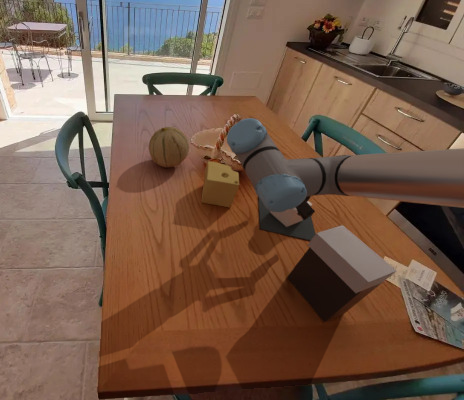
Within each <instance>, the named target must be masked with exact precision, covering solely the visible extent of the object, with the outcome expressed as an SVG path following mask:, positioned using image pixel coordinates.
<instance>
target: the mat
mask: <svg viewBox="0 0 464 400" xmlns="http://www.w3.org/2000/svg"><path fill="white" fill-rule="evenodd" d="M257 198H258V199H257V202H258V219H259V230H261V231H264V232H269V233H273V234H278V235H283V236H286V237H291V238H295V239H299V240H304V241H309V242H310V241H311V240H312V238H313V237H314V235H315V234H316V231H315V226H314V222H313V219H312V215H311V216H310V217H308V218H307V219H306V220H302V221H300V222H298V223H295V224H293V225H290V226H288V227H286V226H285V225H284V224H282V223H281V222H280V221H279V220H278V219H277V218H276V217H274V216H273V215H272V214H271V213H270V210H268V209H267V208H266V207H265V205H264V204H263V202H262V201H261V199H260V198H259V197H258V196H257Z"/></svg>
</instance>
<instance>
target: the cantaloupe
mask: <svg viewBox="0 0 464 400" xmlns="http://www.w3.org/2000/svg"><path fill="white" fill-rule="evenodd" d="M189 152H190V142H189V139H188V137H187V136H186V134H185V133H184V132H183V131H182V130H181V129H180V128H177V127H175V126H166V127H161V128H159V129H157V130H156V131H155V132H154V133H153V134H152V136H151V137H150V139H149V143H148V153H149V155H150V158H151V159H152V161H153V162H154V163H155V164H156V165H158V166H160V167H162V168H176V167H177V166H180V165H181V164H182V163H183V162H184V161H185V160H186V159H187V157H188V155H189Z"/></svg>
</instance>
